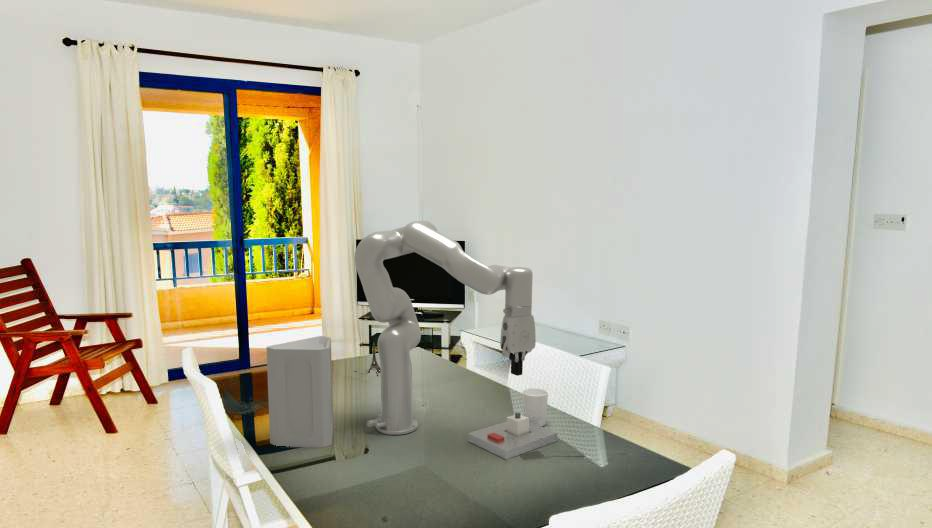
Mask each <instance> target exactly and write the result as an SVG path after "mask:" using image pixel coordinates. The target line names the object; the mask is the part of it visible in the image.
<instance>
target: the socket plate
mask: <svg viewBox="0 0 932 528" xmlns="http://www.w3.org/2000/svg"><path fill="white" fill-rule="evenodd" d="M558 434H559V433H558V432H557V431H554V430H551V429H549V428H546V427H544V426H539V425H536V424H534V423H531V422H529V433H528V434H525V435H522V436H519V437H516V436H514V435H512V434H509V433H507V420H506V421H504V422H501V423H497V424H493V425H491V426H488V427H487V426H486V427H484V428H480V429H477V430H474V431H471V432H469V433H467V435H468V436H467V440H468V441H467V442H469V443H471V444H472V445H475V446H477V447H479V448H480V449H484V450H485V451H487V452H490V453H491V454H493V455H496V456H498V457H500V458H502V459H504V460H509V459H511V458H514V457H517V456H520V455H522V454H525V453H528V452H530V451H534V450H537V449H539V448H542V447H544V446H547V445H550V444H553V443H555V442H558Z"/></svg>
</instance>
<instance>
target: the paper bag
mask: <svg viewBox="0 0 932 528" xmlns="http://www.w3.org/2000/svg"><path fill="white" fill-rule="evenodd" d="M265 348H266V367H267V368H266V369H267V372H266V373H267V392H268V393H267V394H268V395H267V396H268V423H269V425H268V426H269V443H270V445H273V446H275V445H276V446H275V447H277V446H286V447H285V448H325V447H329V446H332V445H333V434H334V410H333V409H334V405H333V403H334V402H333V372H332V371H333V369H332V363H333V362H332V338H331V337H329V336H326V335H318V336H313V337H308V338H303V339H298V340H294V341H287V342H284V343H278V344H273V345H268V346H266V347H265ZM289 446H290V447H289Z"/></svg>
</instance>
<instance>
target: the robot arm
mask: <svg viewBox="0 0 932 528" xmlns="http://www.w3.org/2000/svg"><path fill="white" fill-rule="evenodd" d="M357 244H358V245H357V246H356V248H355V252H354V264H355V269H356V271H357V275H358V277H359V280H360V283H361V285H362V289H363V292H364V295H365V298H366V301H367V304H368V307H369V310H370V311H369V312H370V313H371V315H372V317H373V318H374V320H375V321H376V322H378V323H382V324H383V323H385V324H386V323H388V327H386V328H385V329H383V330H382V331H381V333H380V334H379V336H378V339H377V352H378V358H379V367H380V373H379V374H380V404H381V405H380V406H381V407H380V408H381V409H380V410H381V413H378V414H377V417H376V418H375V419H370V420H367V421H366V426H367V427H368V428H373V427H375V428H376V431H378V432H379V433H381V434H384V435H392V436H397V435H399V436H400V435H405V434H410V433H413V432H414V431H416V430H417V429H418V427H419V422H418V421H417V420H416V419H414V415H413V414H414V413H413V411H414V410H413V409H414V408H413V406H414V405H413V404H414V403H413V401H414V400H413V395H414V394H413V365H412V360H411V353H410V351H411V350H413V349H414V348H416V347H417V346H418V344H419V343H420V341H421V337H422V331H421V327H420V324H419V321H418V318H417V315H416V312H415V308H414V306H413V302H412V300H411V298H410V296H409V295H408V294H407V292H406V291H405V290H403V289H401V288H399V287H394V286H393V283H392V280H391V278H390V275H389V272H388V271H387V269H386V267H385V266H384V261H385V260H389V259H393V258H397V257H400V256H405V255H407V254H411V253H416V254H417V255H420V256H421V257H423V258H425V259H427V260H429V261H430V262H431V263H434V264H436V265H437V266H439V267H441V268H442V269H444V270H445V271H446V272H447V273H448V274H449V275H451V277H453V278H454V279H456V280H457V281H458V282H460V283H461V284H463V285H464V286H467V287H468V288H470V289H472V290H474V291H475V292H478V293H480V294H482V295H489V296H490V295H494V294H495V293H497V292H499V291H504V290H505V291H504V292H505V293H504V294H505V295H504V296H505V297H504V299H505V300H504V302H505V303H504V308H503V310H502V312H503V314H504V315H503V318H502V322H501V330H500V349H501V350H502V352H501V356H503V357H507V358H508V359H509V361H510V375H514V376H516V377H517V376H522V375H523V371H524V370H523V368H524V367H523V365H524V363H523V362H524V361H525V358H526V355H528V354H529V353H531V352H532V350H533V349H535V348H536V344H537V343H536V340H537V339H536V323H535V318H534V315H533V314H532V310H533V309H532V307H533V305H532V304H533V300H532V298H533V277H534V276H533V271H532V269H530V267H522V266H512V267H511V266H504V265H500V264H498V265H497V264H491V265H488V266H486V265H485V264H482V263H481V262H479V261H477V260H476V259H474V258H473V257H471V256H469V254H467V253H466V252H465V251H464V250H463V248H462V246H461V245H460V243H459V242H458V241H456V240H454V239H453V238H451V237H449V236H447V235H445V234H443V233H441V232H440V231H438V229H437V227H436V226H435V225H434V224H433V223H431V222H430V221H427V220H414V221H411V222H409V223H407V224H406V225H405V226H402V227H398V228H395V229H390V230H384V231H383V230H382V231H373V232H372V233H369V234H368V235H366V236H365V237H364V238H362V240H360V242H359V243H357Z"/></svg>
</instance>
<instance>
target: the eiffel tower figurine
mask: <svg viewBox="0 0 932 528" xmlns="http://www.w3.org/2000/svg"><path fill="white" fill-rule="evenodd" d="M375 345H376V343H373V346H372V347H373V348H372V349H373V350H372V359H371V364H370V367H369V369H368V370H367V372H368V373H370V370H377V372H378V373H377V374H381V373H380V371H379V370H380V365H379V363H378V362H377V357H376V349H375V348H376V347H375Z"/></svg>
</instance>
